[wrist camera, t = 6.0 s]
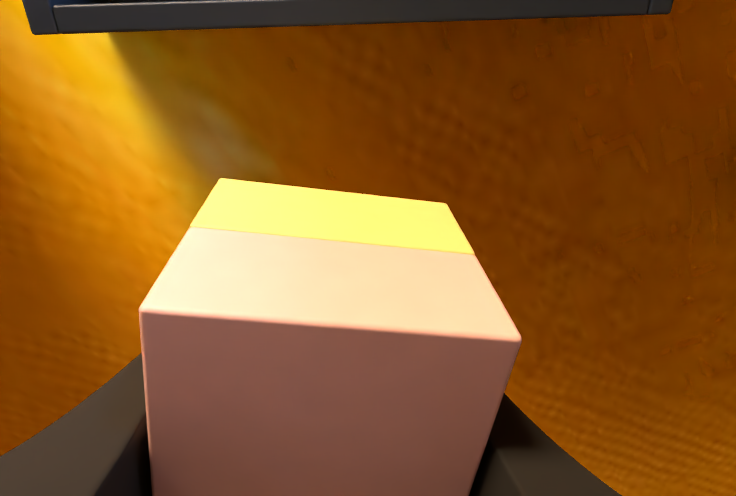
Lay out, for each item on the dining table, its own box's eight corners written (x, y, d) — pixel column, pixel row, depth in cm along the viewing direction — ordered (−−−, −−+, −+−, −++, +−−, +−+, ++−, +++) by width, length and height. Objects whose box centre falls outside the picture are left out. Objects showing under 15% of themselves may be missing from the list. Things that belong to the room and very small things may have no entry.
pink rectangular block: (216, 435, 14) (160, 644, 9) (219, 176, 10) (136, 307, 6) (391, 444, 14) (419, 643, 10) (447, 202, 11) (525, 338, 7)
